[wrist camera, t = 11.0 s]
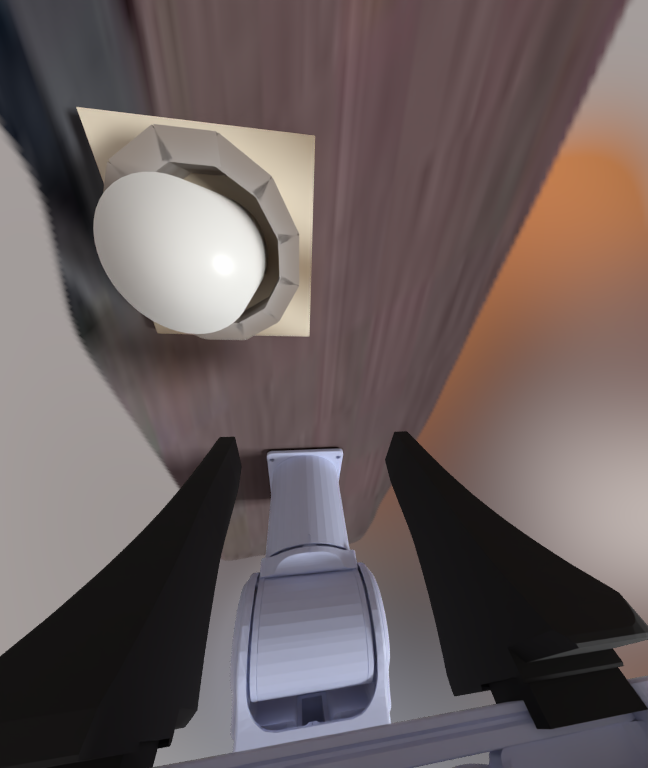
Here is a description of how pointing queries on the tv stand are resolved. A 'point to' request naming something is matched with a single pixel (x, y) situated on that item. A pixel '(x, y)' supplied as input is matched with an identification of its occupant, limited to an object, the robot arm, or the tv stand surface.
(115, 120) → the beige square plate
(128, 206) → the white rounded piece
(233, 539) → the tv stand surface
